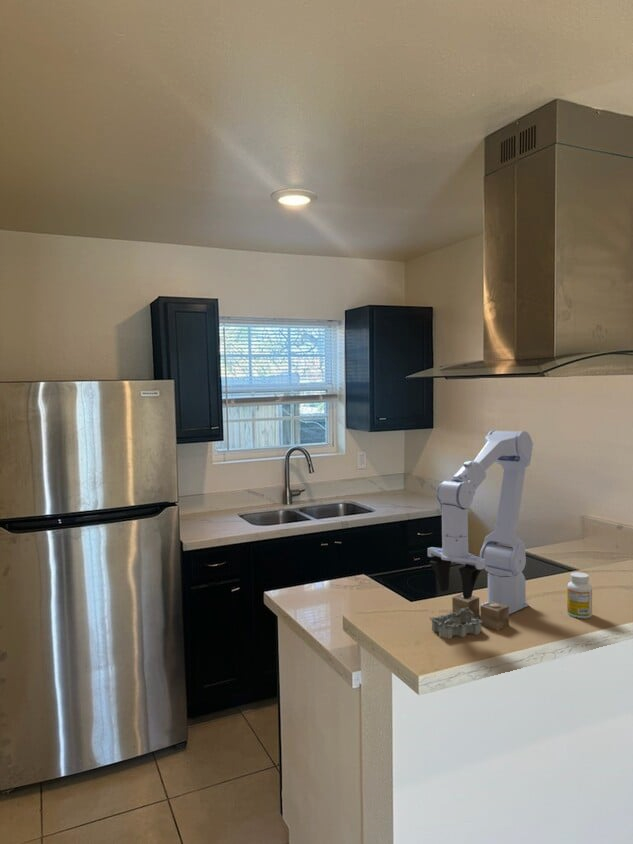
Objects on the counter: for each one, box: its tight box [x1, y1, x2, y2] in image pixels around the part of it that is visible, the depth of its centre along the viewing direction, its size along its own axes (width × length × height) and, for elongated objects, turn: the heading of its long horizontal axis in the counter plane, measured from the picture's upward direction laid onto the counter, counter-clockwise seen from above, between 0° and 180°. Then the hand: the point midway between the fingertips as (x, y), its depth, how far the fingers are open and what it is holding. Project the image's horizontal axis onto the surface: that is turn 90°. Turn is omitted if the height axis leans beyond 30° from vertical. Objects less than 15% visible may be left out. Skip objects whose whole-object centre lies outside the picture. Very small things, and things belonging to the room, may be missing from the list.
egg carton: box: [429, 607, 483, 639], centre depth 133 cm, size 11×8×4 cm
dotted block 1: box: [451, 592, 481, 618], centre depth 142 cm, size 4×4×5 cm
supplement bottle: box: [566, 571, 593, 619], centre depth 140 cm, size 5×5×10 cm
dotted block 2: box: [479, 601, 510, 631], centre depth 136 cm, size 4×4×5 cm
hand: (455, 593), depth 133 cm, fingers open, 6 cm apart
